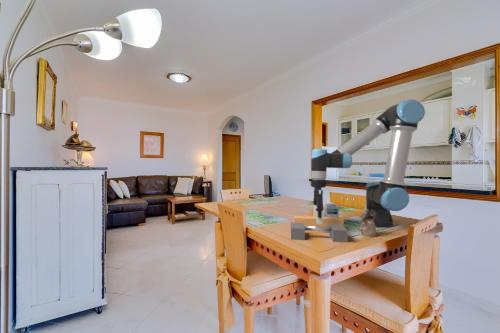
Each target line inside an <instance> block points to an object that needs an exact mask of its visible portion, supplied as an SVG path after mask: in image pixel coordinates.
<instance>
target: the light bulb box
mask: <svg viewBox="0 0 500 333" xmlns="http://www.w3.org/2000/svg"><path fill="white" fill-rule="evenodd" d="M339 206H340V205H338V204H336V203H333V202H331V201H329V202H327V201H326V202H325V201H323V210H322V217H339V215H340V214H339V213H340V212H339Z"/></svg>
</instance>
